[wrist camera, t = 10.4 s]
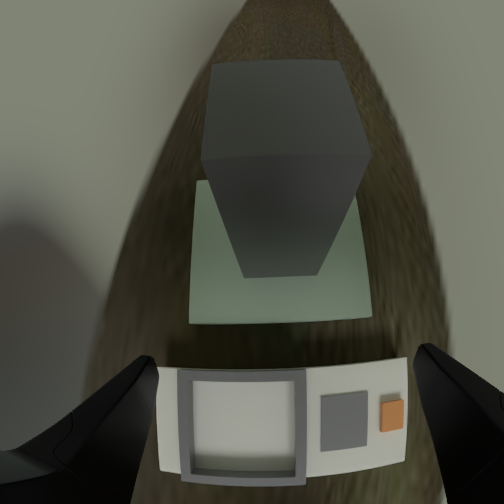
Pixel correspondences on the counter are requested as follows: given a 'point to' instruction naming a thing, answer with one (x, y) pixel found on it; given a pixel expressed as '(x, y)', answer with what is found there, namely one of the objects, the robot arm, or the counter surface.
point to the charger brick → (282, 160)
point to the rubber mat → (273, 288)
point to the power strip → (281, 422)
